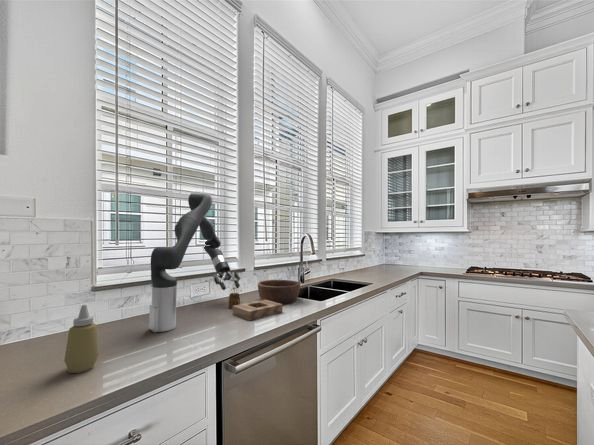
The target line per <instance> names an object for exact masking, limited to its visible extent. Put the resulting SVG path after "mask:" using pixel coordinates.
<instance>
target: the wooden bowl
mask: <svg viewBox="0 0 594 445" xmlns="http://www.w3.org/2000/svg"><path fill="white" fill-rule="evenodd" d="M300 287H301V283H300V282H299V281H296V280H292V279H291V280H289V279H269V280H262V281H259V282H258V283H257V291H258V296H259V298H260V300H269V301H272V302H276V303H280V304H283V305H285V304H286V305H287V304H291V303H294V302H295V301H296V300H297V299H298V297H299V294H300V290H301V289H300Z"/></svg>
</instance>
